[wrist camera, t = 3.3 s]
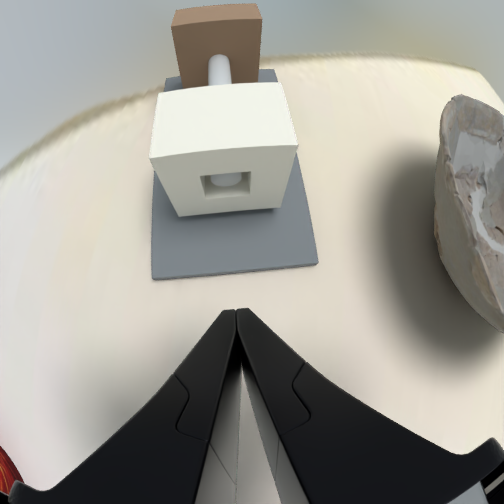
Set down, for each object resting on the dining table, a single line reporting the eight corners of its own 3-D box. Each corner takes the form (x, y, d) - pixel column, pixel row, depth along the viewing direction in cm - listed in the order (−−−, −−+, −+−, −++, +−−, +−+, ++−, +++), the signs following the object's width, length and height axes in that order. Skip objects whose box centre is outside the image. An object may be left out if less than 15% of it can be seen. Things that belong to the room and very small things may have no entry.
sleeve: (280, 207, 19) (298, 144, 12) (178, 216, 19) (149, 158, 12) (270, 151, 21) (281, 82, 14) (179, 159, 20) (158, 93, 13)
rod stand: (315, 265, 20) (373, 208, 11) (155, 280, 20) (86, 235, 10) (273, 74, 26) (282, 1, 17) (167, 83, 26) (150, 11, 16)
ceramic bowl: (525, 339, 18) (583, 330, 9) (384, 375, 18) (472, 394, 8) (498, 175, 25) (541, 140, 15) (363, 135, 24) (402, 62, 15)
